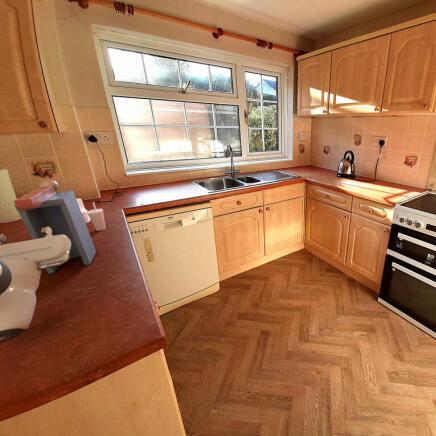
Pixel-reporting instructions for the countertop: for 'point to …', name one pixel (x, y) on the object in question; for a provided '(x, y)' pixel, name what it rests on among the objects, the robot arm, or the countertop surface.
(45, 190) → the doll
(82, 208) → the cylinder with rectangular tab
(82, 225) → the shelf
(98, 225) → the smoothie
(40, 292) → the countertop surface
